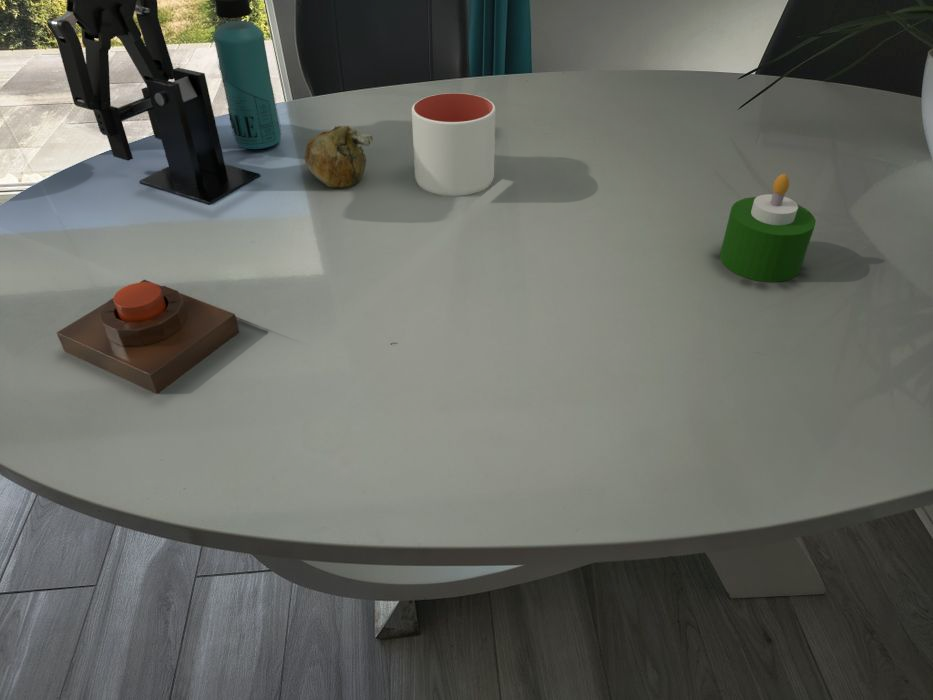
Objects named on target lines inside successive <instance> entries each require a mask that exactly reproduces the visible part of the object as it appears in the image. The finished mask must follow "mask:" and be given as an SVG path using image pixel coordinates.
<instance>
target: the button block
mask: <svg viewBox="0 0 933 700" xmlns="http://www.w3.org/2000/svg"><path fill="white" fill-rule="evenodd" d="M140 282H149V283H154V284H156V285H158V286H159V287H160V288H161V291H162V294H163V298H164V301H165V304H166V308H165V311H164V312H163V313H161V314H159V315H158V316H156V317H155V318H152V319H149V320H146V321H142V322H124V321H123V320H121V319H120V317H119V315H118V312H117V309H116V307H115V304H114V301H113V298H114V297H112V298H110V299H109V300H107V301H106V302H104V303H103V304H101V305H100V306H98V307H96V308H95V309H93V310H91V311H90V312H88V313H86V314H85V315H83V316H81V317H80V318H78V319H76V320H75V321H73V322H72V323H70V324H68V325H67V326H65V327H64V328H61V329H60V330H59V331H57V332H56V335H57V338H58V340H59V342H60V344H61V346H62V349H63V351H64V352H65V353H67V354H69V355H71V356H73V357H76V358H78V359H80V360H82V361H85V362H87V363H89V364H91V365H93V366H95V367H97V368H99V369H102V370H104V371H105V372H108V373H110V374H112V375H114V376H116V377H119V378H121V379H123V380H125V381H128V382H130V383H132V384H134V385H136V386H138V387H141V388H142V389H145V390H147V391H149V392H151V393H153V394H155V395H158V394H160V393H161V392H162V391H164V390H165V389H166V388H167V387H169V386H170V385H171V384H174V382H176V381H177V380H179V378H181V377H182V376H184V375H185V374H186V373H187V372H189V371H190V370H191V369H193V368H194V367H196V366H197V365H198V364H200V363H201V362H203V360H206V358H207V357H209V356H211V354H213V353H214V352H216V351H217V350H218V349H220V348H221V347H222V346H224V345H225V344H226V343H228V342H229V341H230V340H232V339H233V338H234V337H236V336H237V335H238V334H239V333H240V329H239V325H238V321H237V316H236V314H235V313H234V312H231V311H228V310H226V309H223V308H221V307H218V306H215V305H214V304H213V305H212V304H210V303H207V302H204V301H202V300H199V299H197V298H195V297H191V296H189V295H186V294H184V293H181V292H180V291H178V290H177V289H173V288H171V287H168V286H166V285H160V284H157V283H155V282H152V281H149V280H147V279H143V280H141V281H139V282H138V283H140Z"/></svg>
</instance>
